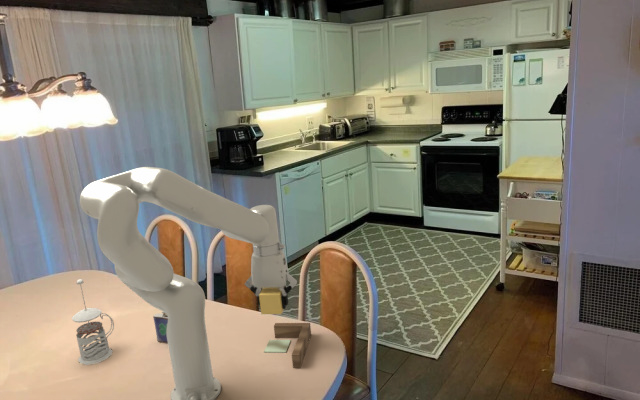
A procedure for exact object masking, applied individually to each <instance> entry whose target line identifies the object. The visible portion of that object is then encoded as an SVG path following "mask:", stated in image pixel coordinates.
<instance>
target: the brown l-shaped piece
mask: <svg viewBox="0 0 640 400" xmlns="http://www.w3.org/2000/svg"><path fill="white" fill-rule="evenodd" d="M311 328H312V327H311V322H275V323H274V324H273V331H274V339H269V340H268V341H267V344H266V346H265V348H264V351H263V353H274V354H275V353H277V354H279V353H280V354H281V353H282V354H283V353H284V354H285V353H287V351H288V349H289V346H290V343H291V339H296V342H295V345H294V348H293V351H292V353H291V361H292V362H291V363H292V368H293V369H301V367H302V364H303V360H304V358H305V356H306V352H307V348H308V345H309V342H310V340H309V339H311V337H312V329H311ZM310 336H311V337H310Z"/></svg>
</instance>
